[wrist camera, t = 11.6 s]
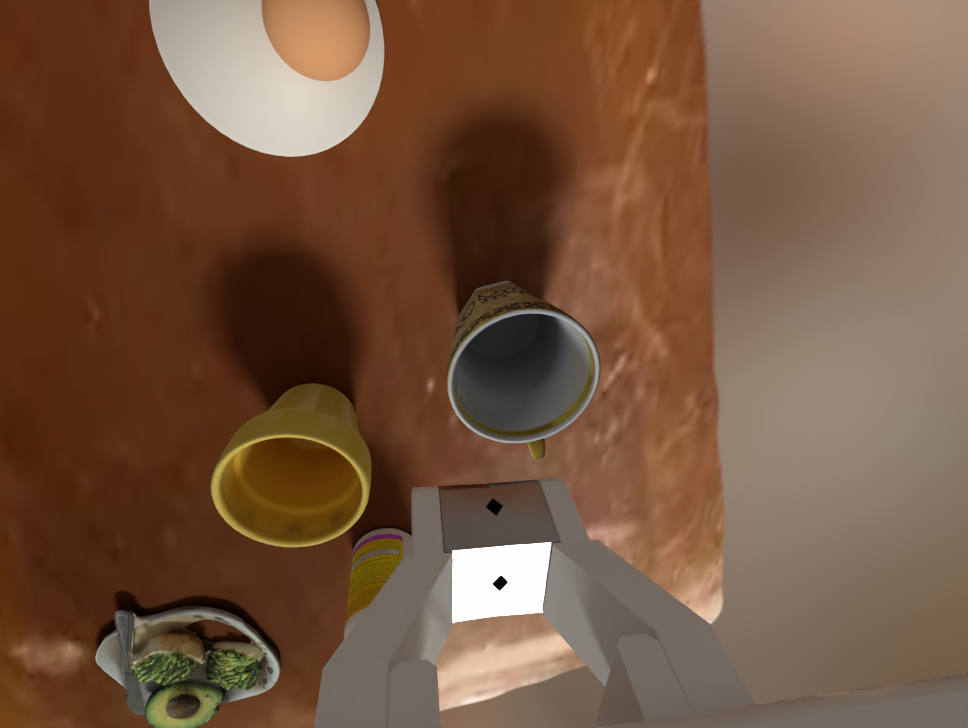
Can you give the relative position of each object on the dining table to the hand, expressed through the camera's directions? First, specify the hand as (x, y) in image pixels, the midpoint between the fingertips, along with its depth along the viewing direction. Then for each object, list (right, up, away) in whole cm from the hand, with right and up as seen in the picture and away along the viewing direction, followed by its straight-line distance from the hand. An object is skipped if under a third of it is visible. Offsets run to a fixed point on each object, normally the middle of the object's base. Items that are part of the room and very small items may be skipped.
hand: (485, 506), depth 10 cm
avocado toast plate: (-32, -30, +45) cm, 63 cm away
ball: (-9, +22, +17) cm, 29 cm away
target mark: (-13, +22, +19) cm, 32 cm away
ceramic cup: (+2, +5, +31) cm, 31 cm away
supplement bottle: (-10, -16, +41) cm, 45 cm away
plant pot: (-15, -1, +32) cm, 35 cm away
